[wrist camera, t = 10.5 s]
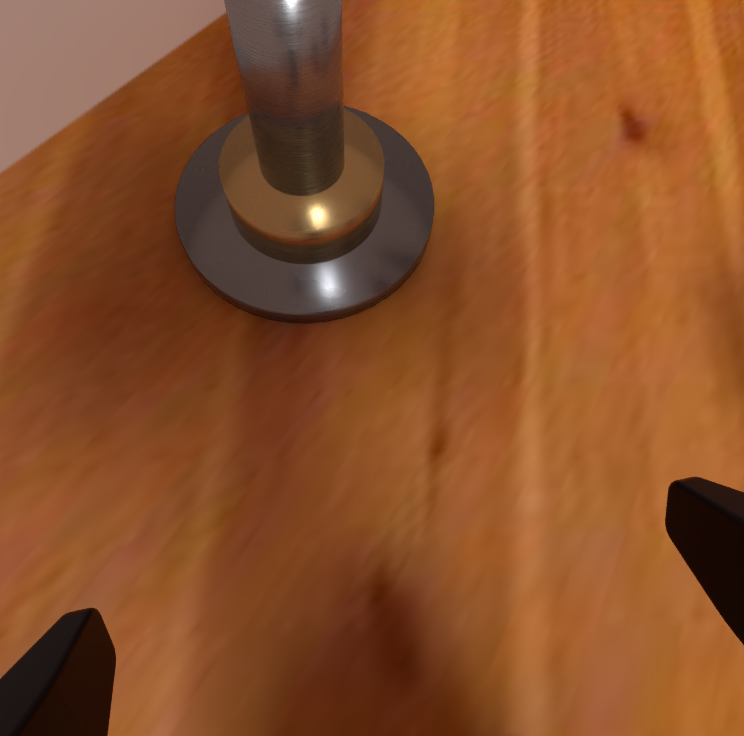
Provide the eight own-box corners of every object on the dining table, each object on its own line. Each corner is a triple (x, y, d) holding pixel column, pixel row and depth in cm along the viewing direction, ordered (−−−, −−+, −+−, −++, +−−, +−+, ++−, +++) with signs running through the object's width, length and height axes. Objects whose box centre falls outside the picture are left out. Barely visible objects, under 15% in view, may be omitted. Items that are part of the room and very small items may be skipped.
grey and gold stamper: (402, 166, 28) (435, -126, 17) (349, 284, 25) (347, 33, 14) (268, 124, 28) (214, -183, 17) (204, 235, 26) (92, -41, 15)
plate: (482, 210, 28) (486, 197, 27) (305, 375, 25) (303, 366, 24) (308, 81, 31) (307, 65, 30) (128, 212, 27) (120, 198, 26)
